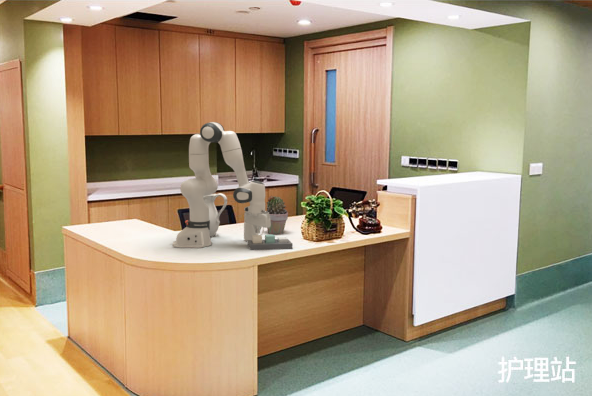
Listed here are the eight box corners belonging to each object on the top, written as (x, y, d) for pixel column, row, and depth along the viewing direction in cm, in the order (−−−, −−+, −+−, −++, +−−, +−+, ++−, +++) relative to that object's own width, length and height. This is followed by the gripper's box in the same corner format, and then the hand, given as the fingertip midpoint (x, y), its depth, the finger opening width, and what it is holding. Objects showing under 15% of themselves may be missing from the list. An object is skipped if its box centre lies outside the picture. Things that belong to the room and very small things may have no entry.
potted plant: (291, 230, 394) (292, 192, 391) (288, 236, 375) (288, 196, 371) (264, 229, 396) (265, 192, 392) (259, 234, 377) (260, 195, 373)
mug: (244, 242, 355) (244, 223, 353) (243, 239, 364) (243, 221, 362) (264, 241, 357) (264, 223, 355) (262, 238, 366) (263, 221, 364)
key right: (279, 246, 342) (279, 239, 342) (277, 244, 347) (277, 237, 347) (287, 245, 343) (287, 239, 343) (285, 244, 348) (285, 237, 348)
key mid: (266, 243, 340) (266, 236, 340) (264, 241, 345) (264, 234, 345) (274, 243, 342) (275, 236, 341) (273, 241, 346) (273, 234, 346)
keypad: (250, 250, 335) (250, 244, 334) (247, 245, 347) (247, 239, 347) (292, 248, 340) (292, 243, 340) (287, 243, 353) (287, 238, 352)
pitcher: (186, 236, 368) (186, 191, 364) (202, 231, 383) (202, 188, 379) (218, 240, 357) (218, 194, 353) (233, 235, 372) (233, 191, 368)
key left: (253, 243, 339) (253, 236, 338) (252, 241, 344) (252, 235, 343) (262, 243, 340) (262, 236, 339) (260, 241, 345) (260, 234, 344)
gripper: (273, 211, 334) (273, 235, 335) (251, 206, 349) (250, 229, 350) (264, 212, 329) (264, 236, 331) (242, 207, 344) (242, 231, 346)
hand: (257, 233), depth 341 cm, fingers closed
